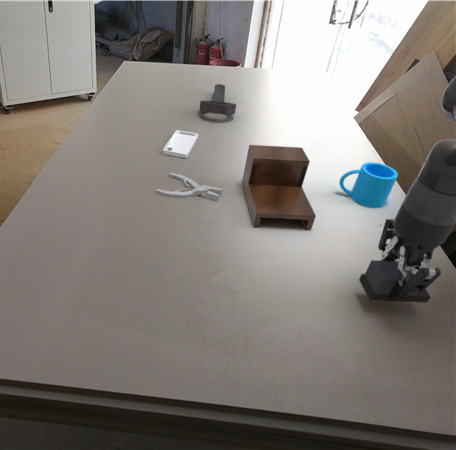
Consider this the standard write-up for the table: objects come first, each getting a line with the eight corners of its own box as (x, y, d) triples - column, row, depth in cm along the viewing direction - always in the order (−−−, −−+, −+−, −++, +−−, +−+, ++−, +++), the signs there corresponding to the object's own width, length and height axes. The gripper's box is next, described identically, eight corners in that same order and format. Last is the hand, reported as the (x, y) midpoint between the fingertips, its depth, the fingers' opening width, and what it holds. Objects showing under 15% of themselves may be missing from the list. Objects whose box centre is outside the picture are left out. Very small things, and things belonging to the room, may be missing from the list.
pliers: (170, 169, 107) (225, 182, 102) (170, 174, 108) (224, 188, 103) (156, 187, 99) (215, 202, 95) (156, 192, 100) (214, 208, 96)
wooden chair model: (291, 185, 106) (302, 147, 99) (310, 230, 91) (325, 188, 84) (241, 183, 106) (249, 144, 99) (253, 227, 91) (263, 185, 84)
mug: (381, 193, 105) (394, 165, 100) (387, 210, 98) (401, 181, 93) (333, 185, 107) (343, 157, 102) (336, 201, 101) (347, 173, 96)
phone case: (186, 158, 115) (198, 137, 127) (187, 154, 114) (199, 133, 126) (162, 154, 117) (176, 133, 128) (162, 149, 116) (176, 129, 127)
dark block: (413, 281, 74) (425, 261, 71) (427, 302, 70) (440, 282, 67) (358, 279, 74) (368, 259, 71) (369, 300, 70) (379, 280, 67)
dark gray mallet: (202, 104, 162) (198, 111, 135) (204, 82, 159) (201, 85, 131) (232, 107, 161) (235, 115, 133) (235, 85, 158) (239, 88, 130)
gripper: (484, 239, 55) (430, 320, 66) (431, 184, 67) (391, 260, 77) (429, 237, 56) (383, 318, 66) (385, 182, 67) (352, 259, 77)
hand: (388, 286), depth 71 cm, fingers closed on dark block, 5 cm apart
